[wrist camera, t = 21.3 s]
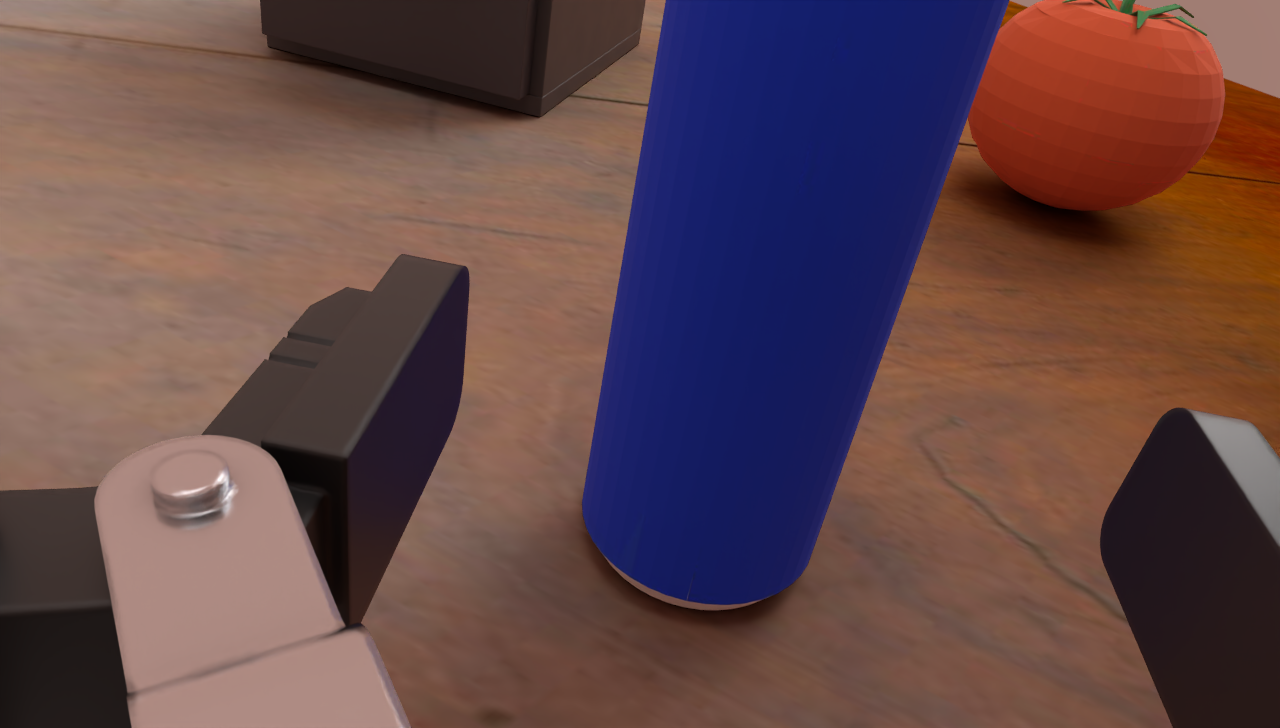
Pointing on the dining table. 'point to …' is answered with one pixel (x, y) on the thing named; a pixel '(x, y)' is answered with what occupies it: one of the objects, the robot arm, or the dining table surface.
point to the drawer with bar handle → (420, 36)
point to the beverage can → (767, 275)
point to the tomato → (1096, 102)
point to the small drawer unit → (562, 57)
